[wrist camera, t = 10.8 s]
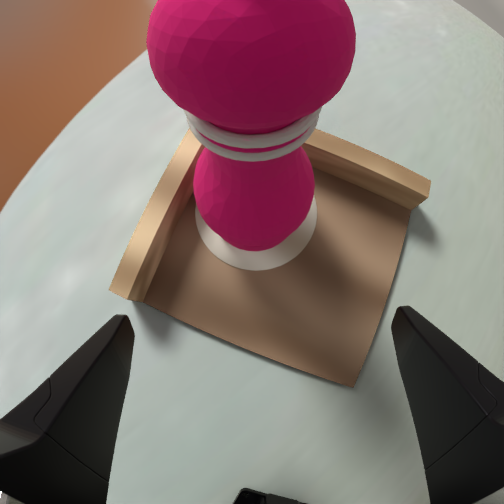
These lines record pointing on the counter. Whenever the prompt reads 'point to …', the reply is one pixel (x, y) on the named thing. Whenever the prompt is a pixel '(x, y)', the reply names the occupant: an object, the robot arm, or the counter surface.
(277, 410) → the counter surface
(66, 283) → the counter surface
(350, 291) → the brown flat rimmed piece
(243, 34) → the pepper mill
